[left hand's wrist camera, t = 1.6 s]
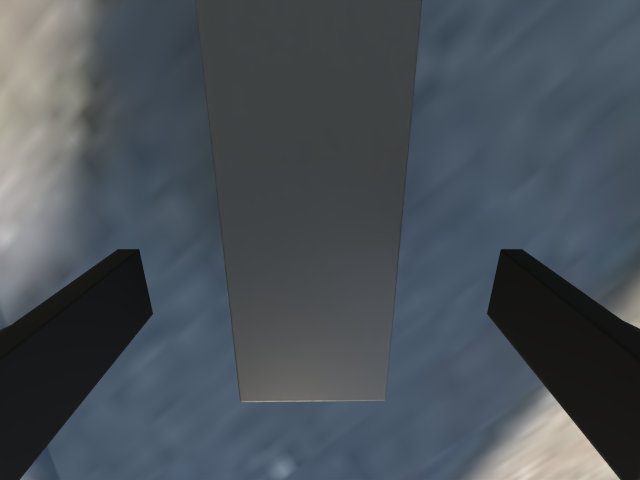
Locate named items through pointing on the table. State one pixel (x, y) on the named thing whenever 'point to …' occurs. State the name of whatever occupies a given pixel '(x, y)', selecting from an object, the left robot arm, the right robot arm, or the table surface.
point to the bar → (310, 186)
